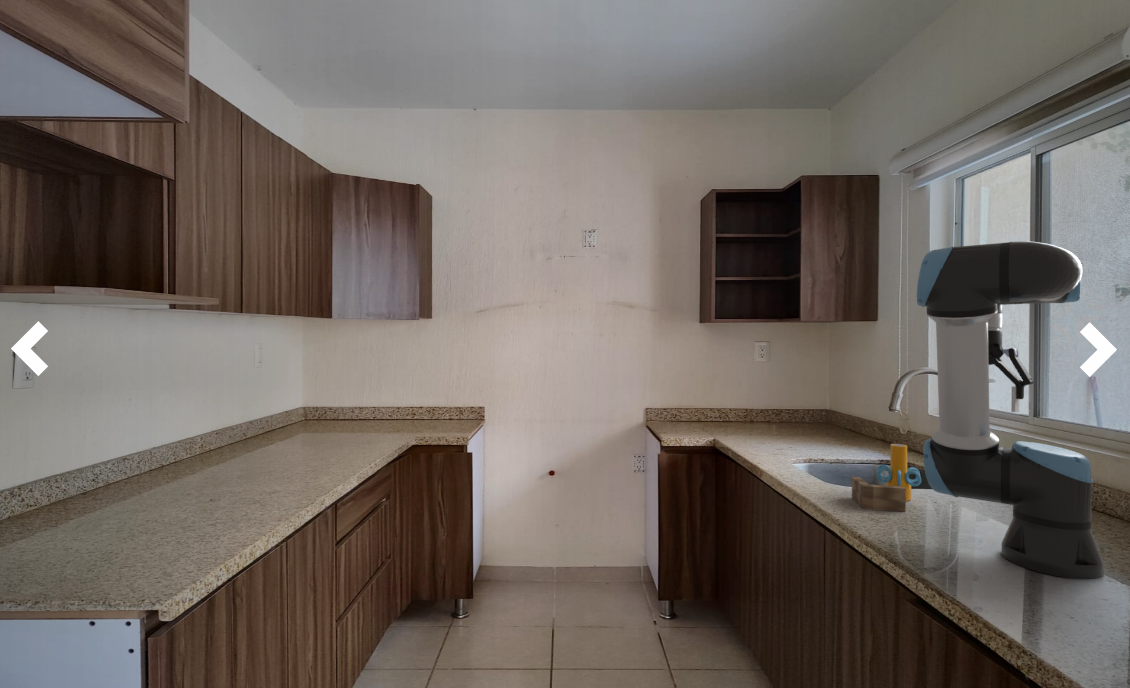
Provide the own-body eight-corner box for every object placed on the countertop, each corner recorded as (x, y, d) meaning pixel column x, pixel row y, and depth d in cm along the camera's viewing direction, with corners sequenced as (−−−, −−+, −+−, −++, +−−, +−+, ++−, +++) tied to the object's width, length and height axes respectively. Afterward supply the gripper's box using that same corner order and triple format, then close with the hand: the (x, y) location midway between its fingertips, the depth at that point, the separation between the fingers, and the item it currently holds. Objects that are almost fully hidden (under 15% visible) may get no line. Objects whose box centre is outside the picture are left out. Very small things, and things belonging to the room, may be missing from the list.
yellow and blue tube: (877, 490, 158) (877, 439, 158) (919, 495, 153) (919, 443, 153) (876, 500, 148) (877, 446, 148) (921, 507, 143) (922, 451, 143)
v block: (854, 497, 151) (854, 476, 151) (908, 510, 139) (908, 487, 139) (837, 502, 147) (837, 480, 147) (891, 516, 135) (891, 492, 135)
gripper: (1049, 329, 135) (1048, 413, 135) (938, 331, 156) (937, 404, 156) (1038, 328, 131) (1038, 415, 131) (926, 330, 152) (925, 405, 152)
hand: (983, 409), depth 143 cm, fingers open, 13 cm apart
